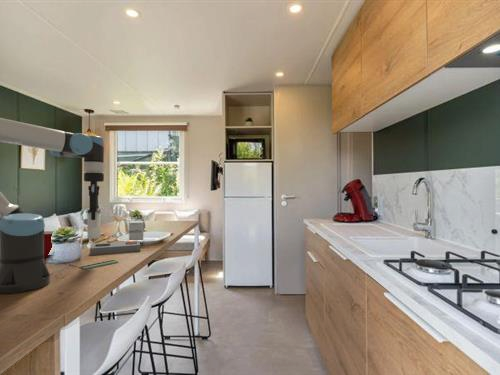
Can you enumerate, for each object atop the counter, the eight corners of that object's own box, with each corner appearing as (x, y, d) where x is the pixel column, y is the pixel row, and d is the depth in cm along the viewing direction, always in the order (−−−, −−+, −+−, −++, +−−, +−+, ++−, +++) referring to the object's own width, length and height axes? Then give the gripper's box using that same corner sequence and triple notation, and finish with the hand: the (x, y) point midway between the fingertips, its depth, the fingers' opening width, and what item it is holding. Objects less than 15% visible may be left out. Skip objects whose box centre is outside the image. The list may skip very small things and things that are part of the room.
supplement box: (128, 245, 165) (128, 222, 164) (130, 242, 172) (130, 221, 172) (142, 244, 167) (142, 222, 166) (143, 242, 174) (143, 220, 174)
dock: (90, 257, 137) (90, 248, 137) (92, 251, 148) (92, 243, 148) (140, 252, 146) (140, 244, 146) (138, 248, 157) (138, 240, 157)
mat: (84, 269, 116) (84, 268, 116) (68, 264, 124) (68, 262, 124) (117, 262, 127) (117, 261, 127) (101, 257, 136) (101, 256, 136)
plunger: (127, 249, 147) (127, 242, 147) (126, 247, 151) (126, 240, 151) (135, 248, 149) (135, 241, 149) (135, 247, 152) (135, 240, 152)
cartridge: (91, 239, 122) (91, 210, 122) (85, 237, 125) (85, 209, 125) (102, 237, 127) (102, 209, 126) (97, 236, 129) (97, 208, 129)
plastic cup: (65, 254, 141) (65, 229, 141) (47, 260, 130) (47, 233, 130) (44, 254, 142) (44, 229, 142) (24, 259, 131) (24, 232, 131)
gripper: (102, 171, 119) (102, 229, 119) (104, 173, 135) (104, 223, 136) (81, 171, 116) (81, 230, 116) (86, 172, 132) (86, 224, 133)
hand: (93, 226), depth 126 cm, fingers closed on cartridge, 5 cm apart
